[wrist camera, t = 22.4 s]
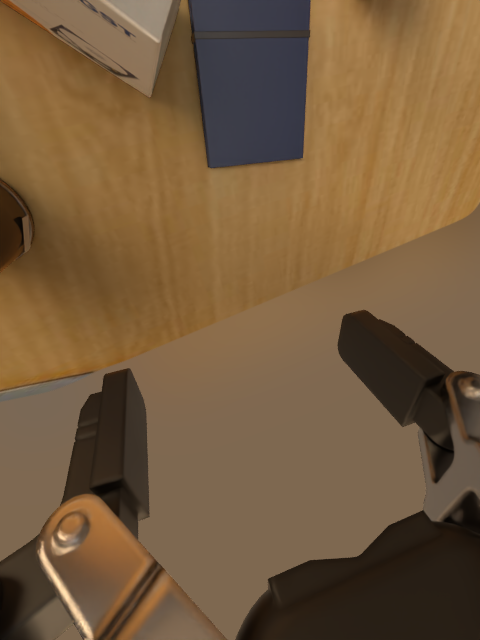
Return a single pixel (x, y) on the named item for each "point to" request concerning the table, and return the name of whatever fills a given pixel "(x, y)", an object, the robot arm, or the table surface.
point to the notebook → (251, 78)
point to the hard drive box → (110, 32)
